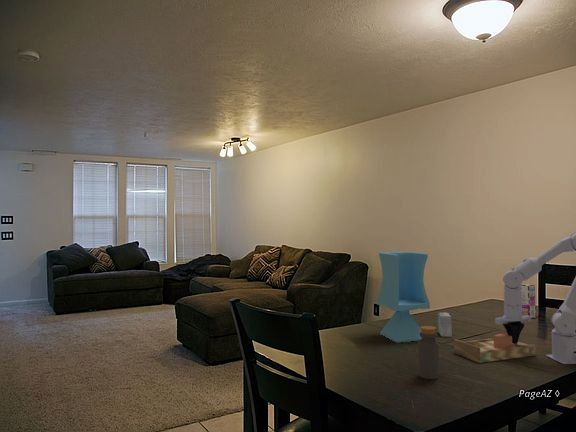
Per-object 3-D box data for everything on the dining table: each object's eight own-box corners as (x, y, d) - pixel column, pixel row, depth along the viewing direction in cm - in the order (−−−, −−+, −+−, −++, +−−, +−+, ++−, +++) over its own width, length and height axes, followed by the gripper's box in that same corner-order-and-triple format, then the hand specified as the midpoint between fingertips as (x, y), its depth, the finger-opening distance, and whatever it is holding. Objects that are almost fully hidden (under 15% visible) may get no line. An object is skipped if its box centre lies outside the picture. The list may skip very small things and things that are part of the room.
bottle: (423, 371, 142) (422, 324, 142) (441, 375, 138) (440, 326, 138) (416, 376, 137) (415, 327, 138) (434, 380, 134) (433, 330, 134)
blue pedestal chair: (395, 343, 175) (393, 254, 176) (377, 334, 190) (375, 252, 191) (430, 340, 180) (428, 253, 180) (409, 331, 195) (408, 251, 195)
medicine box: (451, 337, 185) (451, 316, 185) (440, 336, 186) (440, 315, 186) (448, 332, 193) (448, 312, 193) (438, 332, 194) (437, 312, 194)
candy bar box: (536, 318, 219) (535, 284, 220) (529, 319, 217) (528, 285, 218) (516, 314, 229) (515, 282, 230) (509, 315, 227) (508, 282, 228)
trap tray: (507, 346, 170) (507, 333, 170) (535, 355, 158) (534, 341, 158) (454, 353, 162) (454, 339, 162) (479, 362, 150) (478, 347, 150)
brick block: (501, 345, 160) (501, 333, 160) (512, 348, 157) (512, 336, 157) (493, 347, 158) (493, 335, 158) (504, 350, 155) (504, 337, 155)
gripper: (519, 301, 166) (520, 338, 165) (488, 304, 161) (489, 342, 161) (535, 304, 159) (536, 343, 159) (503, 307, 154) (504, 347, 154)
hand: (513, 343), depth 159 cm, fingers closed
